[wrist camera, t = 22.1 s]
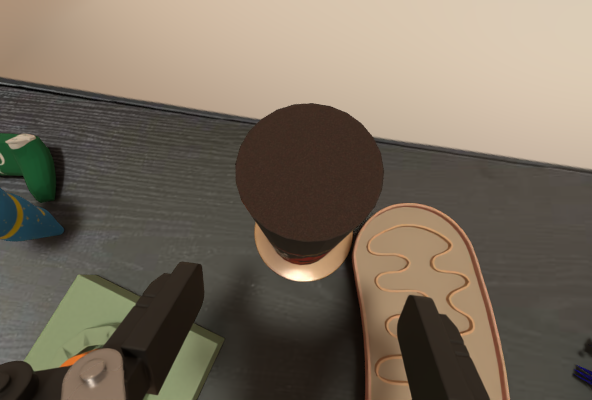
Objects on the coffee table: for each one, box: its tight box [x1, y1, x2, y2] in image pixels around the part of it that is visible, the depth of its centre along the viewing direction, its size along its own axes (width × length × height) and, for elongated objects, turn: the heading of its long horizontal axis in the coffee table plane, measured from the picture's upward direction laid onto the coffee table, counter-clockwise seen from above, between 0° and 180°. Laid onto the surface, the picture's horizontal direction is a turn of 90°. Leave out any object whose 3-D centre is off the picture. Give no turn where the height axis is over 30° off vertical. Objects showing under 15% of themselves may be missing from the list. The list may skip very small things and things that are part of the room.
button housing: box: [24, 275, 225, 400], centre depth 21 cm, size 13×10×4 cm
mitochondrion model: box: [352, 203, 510, 400], centre depth 21 cm, size 23×10×5 cm, turn 179°
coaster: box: [255, 223, 353, 282], centre depth 26 cm, size 9×9×1 cm
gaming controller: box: [0, 133, 56, 203], centre depth 26 cm, size 9×4×6 cm
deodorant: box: [235, 103, 384, 265], centre depth 18 cm, size 6×6×15 cm
